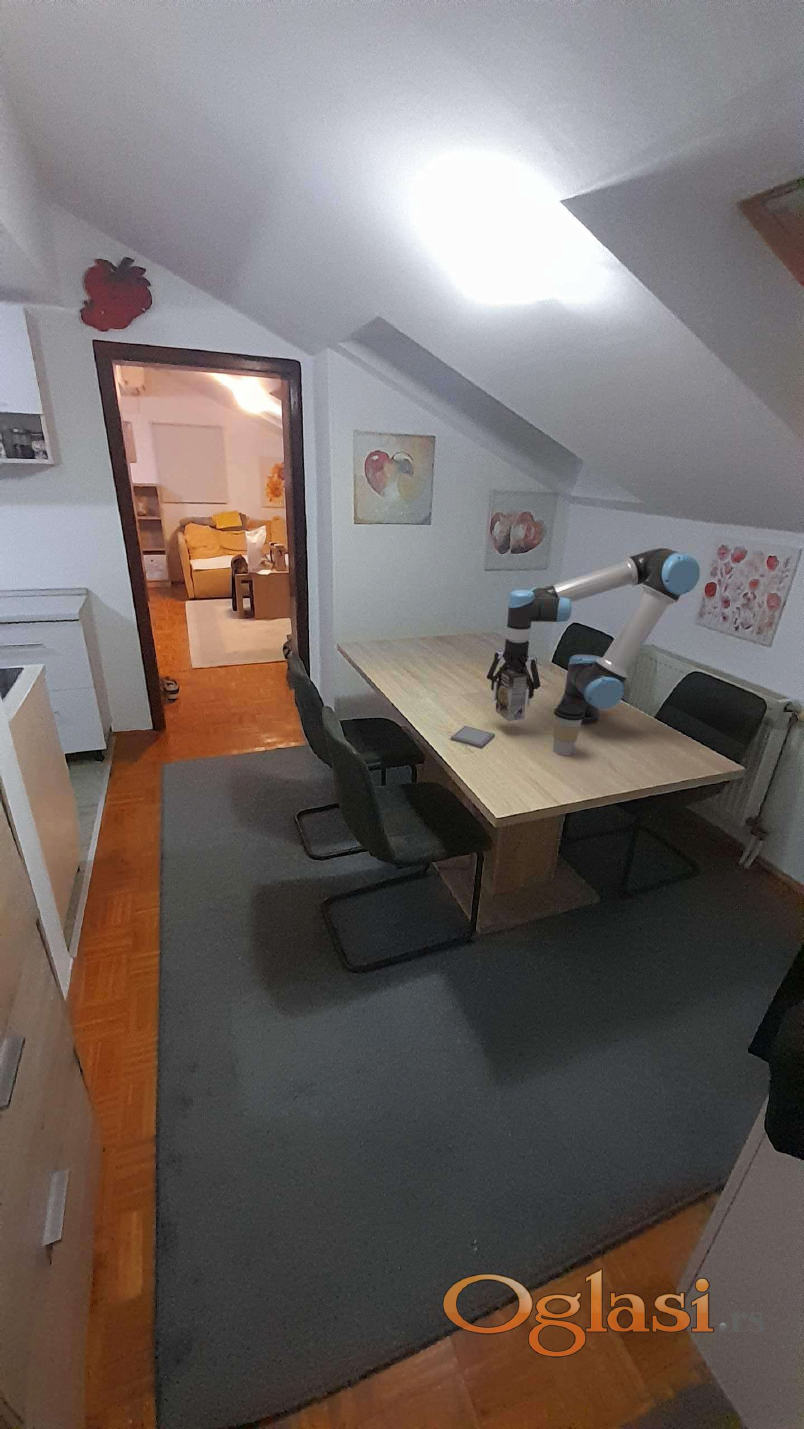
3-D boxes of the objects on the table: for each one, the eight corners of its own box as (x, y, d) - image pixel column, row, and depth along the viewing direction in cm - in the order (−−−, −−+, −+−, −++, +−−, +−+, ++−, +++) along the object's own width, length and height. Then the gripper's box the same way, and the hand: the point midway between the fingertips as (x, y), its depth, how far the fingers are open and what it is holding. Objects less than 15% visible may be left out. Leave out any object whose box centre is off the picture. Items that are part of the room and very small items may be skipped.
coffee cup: (555, 742, 194) (562, 700, 188) (582, 751, 189) (590, 708, 183) (542, 751, 187) (549, 708, 181) (570, 761, 182) (578, 717, 176)
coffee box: (494, 711, 201) (498, 666, 195) (510, 709, 204) (515, 665, 197) (508, 721, 194) (512, 675, 187) (524, 719, 196) (530, 673, 189)
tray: (494, 736, 196) (494, 733, 196) (481, 748, 187) (481, 745, 187) (464, 728, 201) (465, 725, 201) (450, 739, 192) (450, 736, 192)
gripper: (556, 642, 186) (547, 706, 194) (488, 631, 196) (483, 692, 205) (548, 648, 180) (540, 714, 189) (479, 636, 190) (474, 699, 199)
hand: (510, 703), depth 197 cm, fingers closed on coffee box, 10 cm apart
